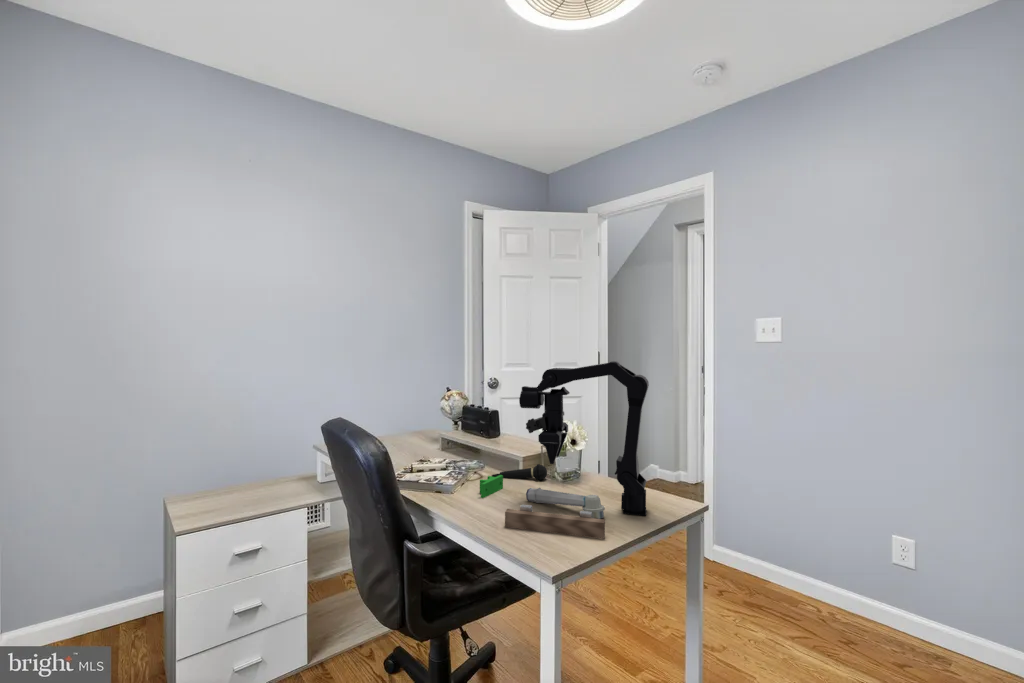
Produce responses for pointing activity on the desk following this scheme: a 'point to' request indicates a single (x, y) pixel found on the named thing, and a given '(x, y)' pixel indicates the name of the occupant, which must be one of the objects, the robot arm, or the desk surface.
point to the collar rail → (555, 522)
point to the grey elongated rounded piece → (567, 500)
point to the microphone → (526, 473)
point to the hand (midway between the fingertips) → (554, 459)
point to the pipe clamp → (491, 485)
